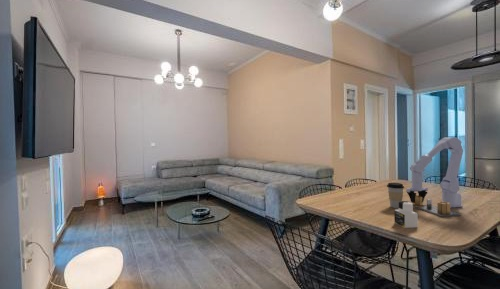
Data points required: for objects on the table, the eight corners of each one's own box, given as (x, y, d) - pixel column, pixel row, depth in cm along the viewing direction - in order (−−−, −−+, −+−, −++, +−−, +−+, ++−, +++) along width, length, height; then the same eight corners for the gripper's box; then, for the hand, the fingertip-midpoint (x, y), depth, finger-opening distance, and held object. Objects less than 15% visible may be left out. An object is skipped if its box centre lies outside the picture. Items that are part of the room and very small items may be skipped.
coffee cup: (407, 209, 142) (407, 185, 142) (390, 208, 144) (390, 185, 144) (400, 205, 152) (400, 182, 151) (384, 204, 153) (384, 182, 153)
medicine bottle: (394, 223, 120) (394, 200, 120) (406, 222, 121) (406, 199, 121) (404, 228, 113) (404, 204, 113) (417, 227, 114) (417, 203, 114)
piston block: (430, 206, 147) (430, 196, 147) (460, 215, 130) (460, 204, 130) (414, 207, 146) (414, 197, 145) (442, 217, 128) (442, 205, 128)
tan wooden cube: (417, 202, 156) (417, 194, 156) (424, 205, 150) (424, 196, 150) (409, 203, 155) (409, 195, 155) (417, 205, 150) (417, 197, 149)
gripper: (421, 180, 158) (421, 199, 158) (402, 181, 155) (402, 201, 156) (430, 182, 151) (430, 202, 151) (411, 183, 148) (411, 204, 149)
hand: (417, 202), depth 153 cm, fingers open, 6 cm apart
